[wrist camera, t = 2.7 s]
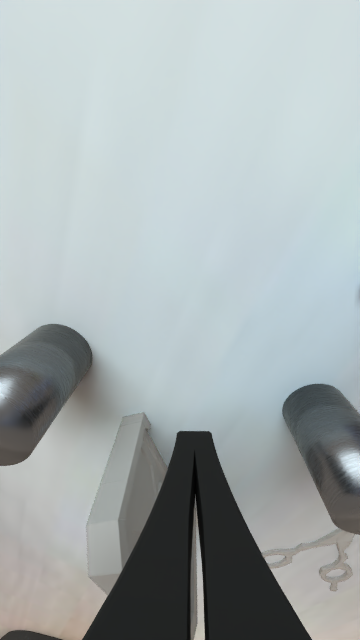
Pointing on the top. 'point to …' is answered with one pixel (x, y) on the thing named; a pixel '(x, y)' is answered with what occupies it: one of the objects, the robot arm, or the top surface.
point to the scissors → (335, 537)
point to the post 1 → (37, 386)
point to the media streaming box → (26, 636)
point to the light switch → (128, 506)
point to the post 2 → (329, 448)
